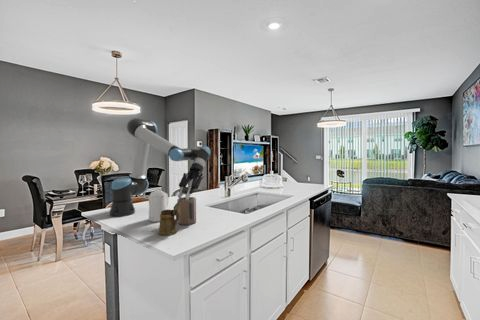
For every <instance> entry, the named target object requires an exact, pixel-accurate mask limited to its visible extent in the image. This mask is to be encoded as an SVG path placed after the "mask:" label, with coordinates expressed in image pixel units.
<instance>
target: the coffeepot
mask: <svg viewBox="0 0 480 320" xmlns="http://www.w3.org/2000/svg"><path fill="white" fill-rule="evenodd" d="M144 198H148V221H149V222H153V223H160V214H161V211H163V210H168V205H169V195H168V193H167V192H165V191H162V190H160V189H159V188H156V189H155V191H151V192H150V194H149V195H148V194H147V195H146V194H145V196H144Z"/></svg>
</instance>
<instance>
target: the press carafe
mask: <svg viewBox="0 0 480 320" xmlns="http://www.w3.org/2000/svg"><path fill="white" fill-rule="evenodd" d="M181 199H183V203H182V205H181V206H180V207H179V208H178V212H179V220H178V222H177V224H178V225H180V226H191V225H195V224H196V223H197V198H196V197H194V196H190V197H189V199H188V200H186V198H185V196H184V197H183V196H182V197H181ZM181 199H179V198H178V199H177V200H176V201H177V202H178V201H180V200H181ZM177 202H176V203H177Z"/></svg>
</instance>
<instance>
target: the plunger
mask: <svg viewBox="0 0 480 320" xmlns="http://www.w3.org/2000/svg"><path fill="white" fill-rule="evenodd" d="M190 187H191V186H186V187H183V194H184V197H185V196H186V194H187V192H188V190H189V188H190ZM185 198H186V197H185ZM186 200H188V199H187V198H186Z"/></svg>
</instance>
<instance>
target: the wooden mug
mask: <svg viewBox="0 0 480 320" xmlns="http://www.w3.org/2000/svg"><path fill="white" fill-rule="evenodd" d="M182 203H183V199H181V200H180V201H178V202H176V203H175V204H174V206H173V209H167V210H163V211H161V214H160V222H159V227H158V233H157V234H158V236H161V237H163V236H164V237H167V236H172V235H175V234H177V232H178V227H177V224H178V220H179V212H178V208H179V207H180V206H181V205H182Z"/></svg>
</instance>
